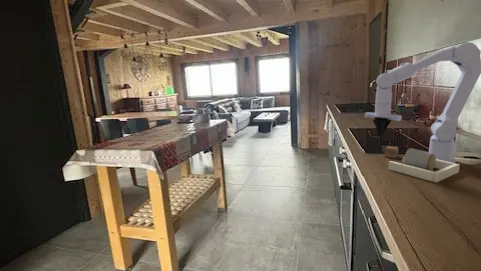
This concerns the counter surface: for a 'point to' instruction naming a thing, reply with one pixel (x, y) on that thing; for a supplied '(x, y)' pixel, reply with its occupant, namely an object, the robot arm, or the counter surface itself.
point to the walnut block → (391, 151)
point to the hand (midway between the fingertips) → (380, 135)
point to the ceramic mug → (420, 159)
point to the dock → (437, 176)
